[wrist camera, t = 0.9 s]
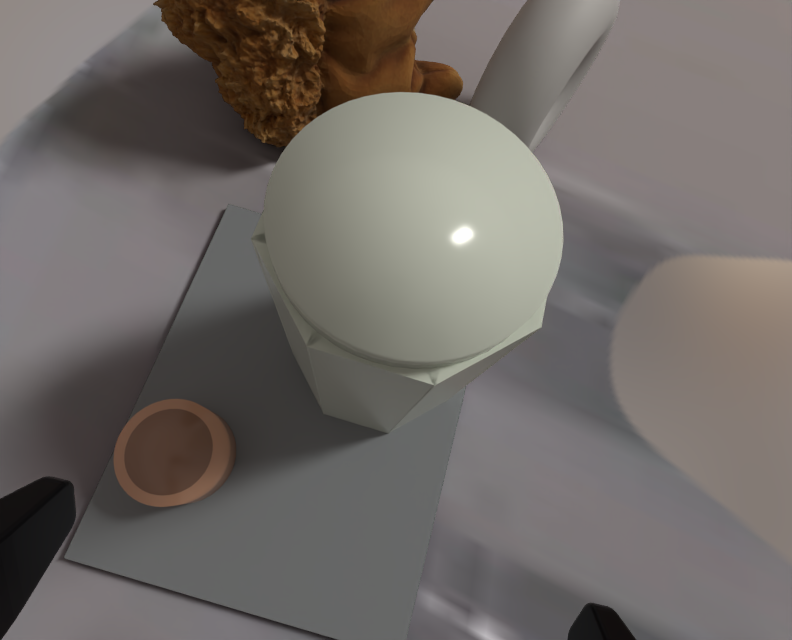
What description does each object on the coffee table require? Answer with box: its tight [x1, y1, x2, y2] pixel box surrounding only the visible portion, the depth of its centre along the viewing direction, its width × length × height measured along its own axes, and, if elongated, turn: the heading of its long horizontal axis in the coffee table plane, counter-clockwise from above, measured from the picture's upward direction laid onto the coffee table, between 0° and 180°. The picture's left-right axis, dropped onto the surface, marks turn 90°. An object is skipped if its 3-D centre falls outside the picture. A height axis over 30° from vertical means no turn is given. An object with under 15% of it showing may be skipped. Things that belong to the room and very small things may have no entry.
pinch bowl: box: [114, 399, 236, 507], centre depth 20 cm, size 4×4×3 cm
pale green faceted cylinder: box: [251, 92, 563, 434], centre depth 18 cm, size 7×7×12 cm
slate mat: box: [64, 204, 466, 640], centre depth 23 cm, size 17×14×1 cm
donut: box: [470, 0, 620, 153], centre depth 24 cm, size 10×4×10 cm, turn 144°
